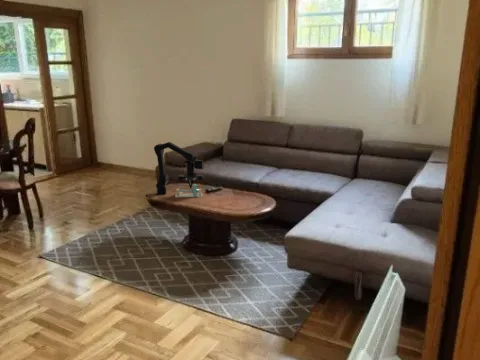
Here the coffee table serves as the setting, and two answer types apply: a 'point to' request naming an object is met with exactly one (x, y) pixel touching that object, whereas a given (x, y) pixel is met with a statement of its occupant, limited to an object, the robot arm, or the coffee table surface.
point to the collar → (194, 189)
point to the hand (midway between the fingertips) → (190, 188)
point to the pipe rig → (188, 193)
